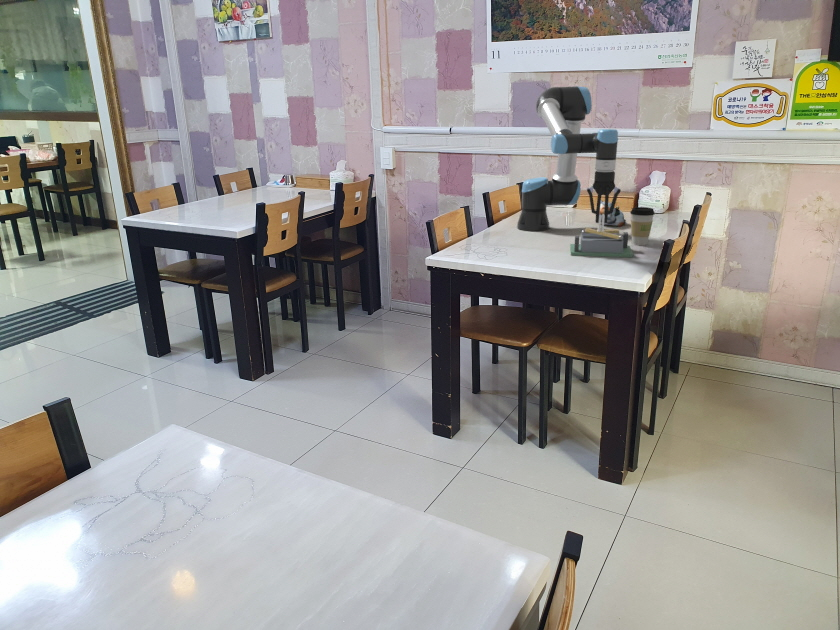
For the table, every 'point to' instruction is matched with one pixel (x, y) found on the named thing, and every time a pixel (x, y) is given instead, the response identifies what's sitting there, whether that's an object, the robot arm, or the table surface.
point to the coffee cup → (641, 224)
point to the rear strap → (604, 231)
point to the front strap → (604, 233)
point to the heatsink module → (601, 246)
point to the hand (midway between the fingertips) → (600, 230)
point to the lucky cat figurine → (612, 215)
